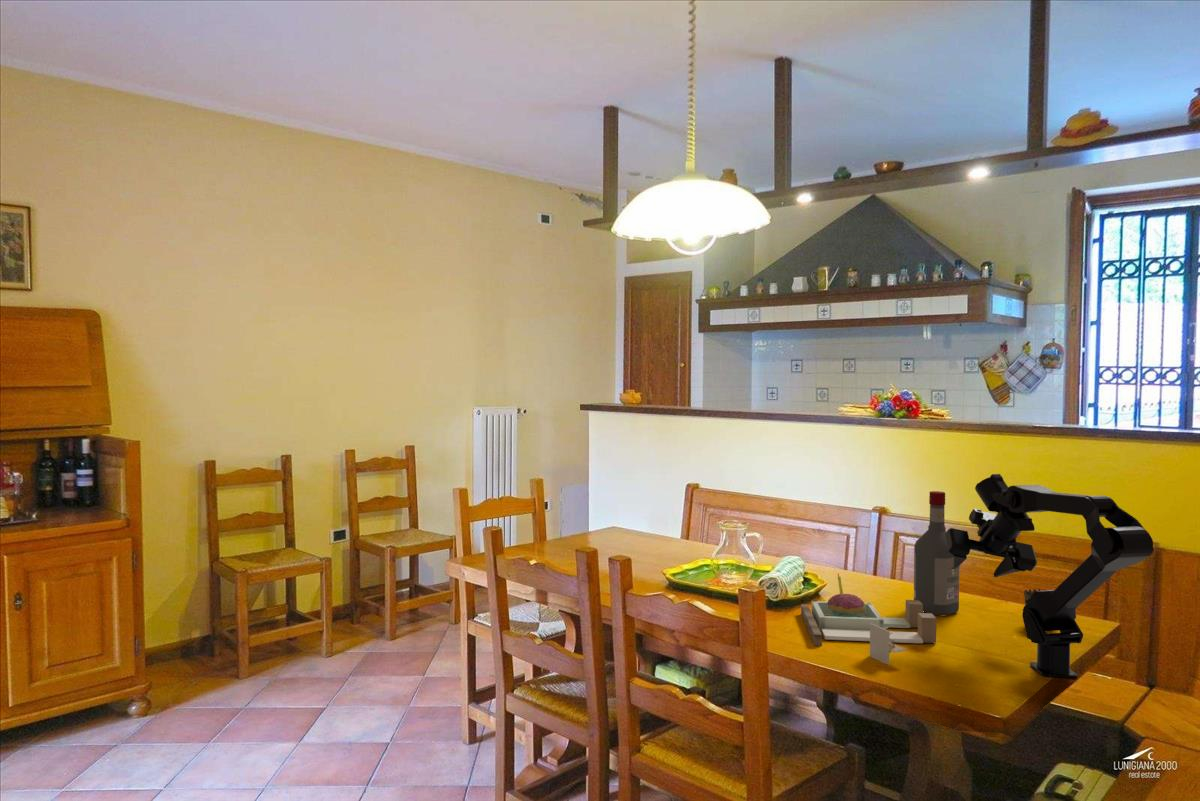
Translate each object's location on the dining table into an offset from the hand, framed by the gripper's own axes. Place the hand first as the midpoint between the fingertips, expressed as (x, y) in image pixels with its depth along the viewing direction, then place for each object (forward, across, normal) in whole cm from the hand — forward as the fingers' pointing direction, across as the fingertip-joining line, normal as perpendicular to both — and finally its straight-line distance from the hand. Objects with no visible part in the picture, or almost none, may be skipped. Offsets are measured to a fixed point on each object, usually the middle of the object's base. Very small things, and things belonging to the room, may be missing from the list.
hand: (974, 571), depth 180 cm
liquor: (+22, 0, -4) cm, 22 cm away
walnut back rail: (+16, +34, +14) cm, 40 cm away
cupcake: (+18, +24, +9) cm, 32 cm away
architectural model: (+3, +23, +28) cm, 36 cm away
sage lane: (+16, +20, +9) cm, 27 cm away
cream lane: (+10, +20, +17) cm, 28 cm away
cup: (+12, -20, +2) cm, 23 cm away
